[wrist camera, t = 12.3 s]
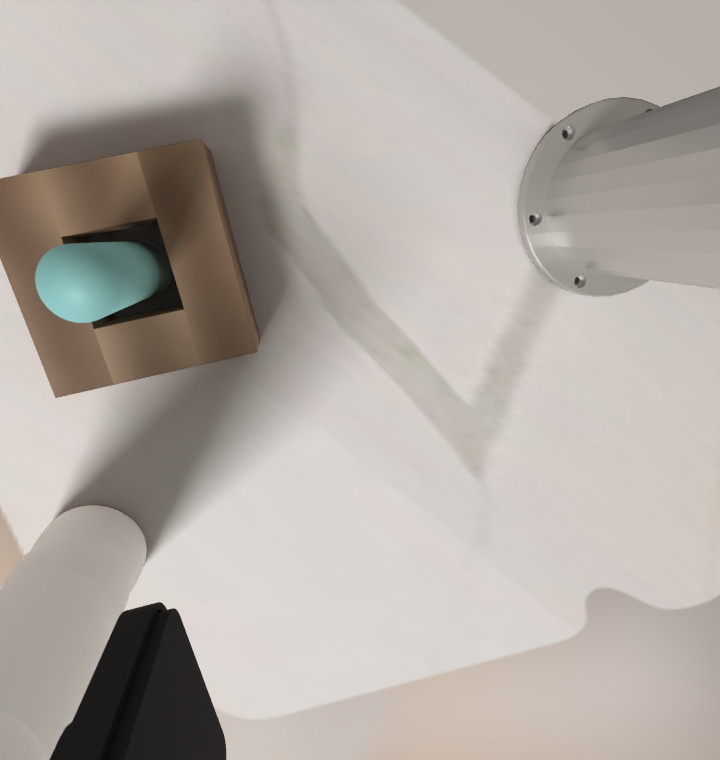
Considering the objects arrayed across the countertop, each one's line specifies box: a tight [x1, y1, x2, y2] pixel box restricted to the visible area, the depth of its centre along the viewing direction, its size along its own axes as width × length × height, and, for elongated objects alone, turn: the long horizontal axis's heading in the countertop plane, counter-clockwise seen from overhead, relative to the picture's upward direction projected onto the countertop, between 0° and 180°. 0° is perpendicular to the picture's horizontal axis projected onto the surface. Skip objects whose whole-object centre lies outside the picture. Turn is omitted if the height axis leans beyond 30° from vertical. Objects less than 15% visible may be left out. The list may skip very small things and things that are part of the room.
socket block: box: [0, 139, 260, 398], centre depth 31 cm, size 12×12×4 cm
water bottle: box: [0, 505, 147, 760], centre depth 26 cm, size 7×7×25 cm
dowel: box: [35, 241, 173, 323], centre depth 28 cm, size 3×3×11 cm
